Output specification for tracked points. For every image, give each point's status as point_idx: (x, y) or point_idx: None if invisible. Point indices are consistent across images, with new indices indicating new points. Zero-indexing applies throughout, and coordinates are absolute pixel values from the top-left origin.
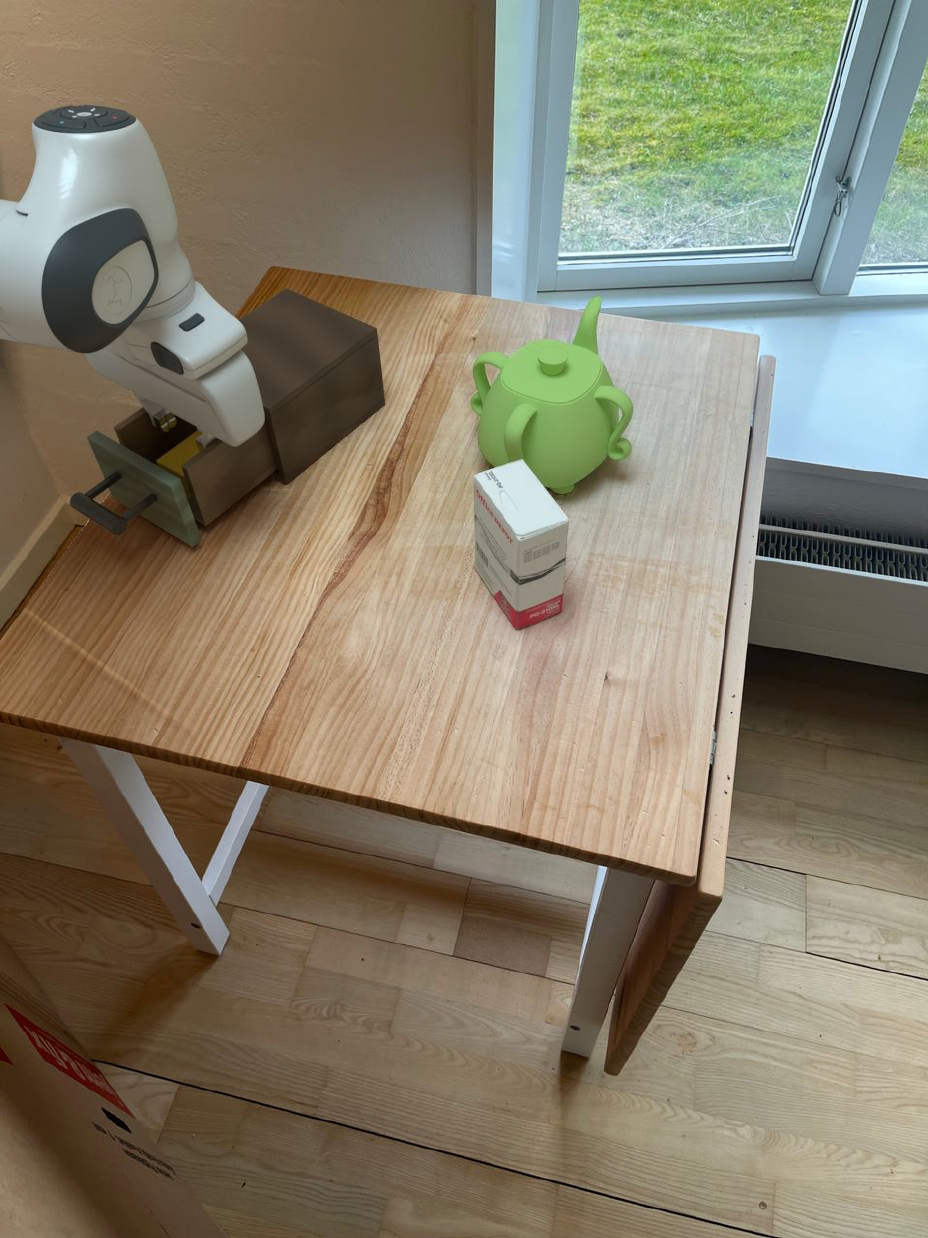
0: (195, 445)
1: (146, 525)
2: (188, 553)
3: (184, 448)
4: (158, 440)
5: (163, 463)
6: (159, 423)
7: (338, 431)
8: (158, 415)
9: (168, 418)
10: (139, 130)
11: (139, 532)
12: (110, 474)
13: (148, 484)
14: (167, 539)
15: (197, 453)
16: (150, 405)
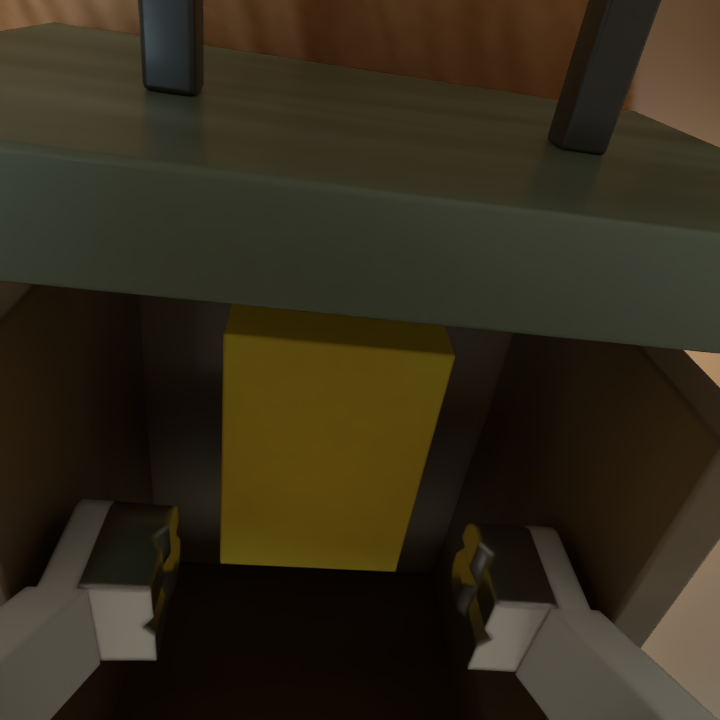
0: (343, 499)
1: (408, 64)
2: (101, 6)
3: (374, 469)
4: (533, 453)
5: (400, 358)
6: (499, 570)
7: None
8: (520, 620)
9: (472, 609)
10: None
11: (410, 5)
12: (659, 148)
13: (185, 115)
14: (258, 36)
15: (294, 472)
16: (592, 676)
